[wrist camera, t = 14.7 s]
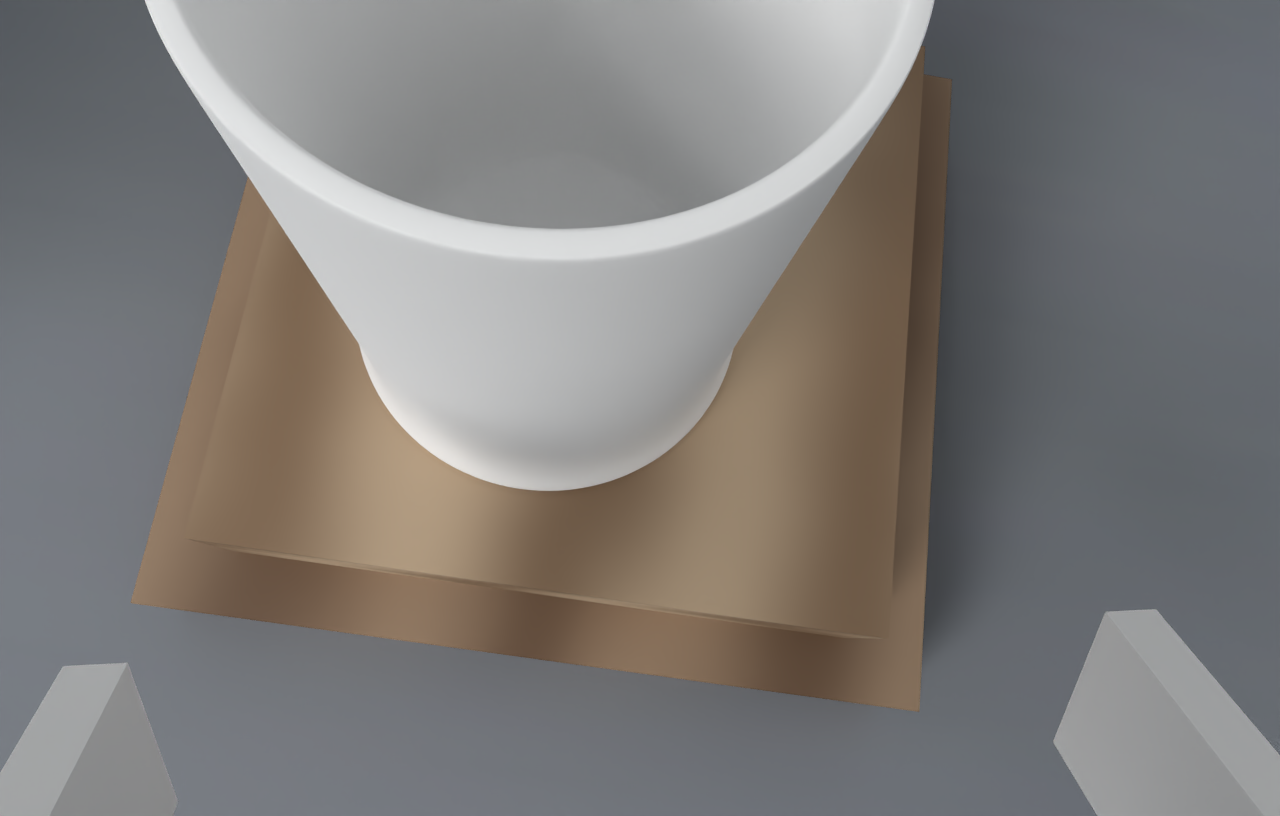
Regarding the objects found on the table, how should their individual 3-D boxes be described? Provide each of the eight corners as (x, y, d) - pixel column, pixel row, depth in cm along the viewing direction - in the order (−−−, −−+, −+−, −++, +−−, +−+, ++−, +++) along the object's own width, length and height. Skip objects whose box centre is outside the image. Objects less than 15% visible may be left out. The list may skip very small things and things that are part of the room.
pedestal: (181, 606, 24) (62, 598, 18) (331, 30, 28) (276, -125, 22) (876, 702, 25) (974, 723, 19) (912, 133, 29) (1000, 11, 24)
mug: (628, -6, 23) (711, -675, 11) (888, 209, 22) (1269, -267, 10) (275, 313, 20) (-113, -137, 8) (561, 574, 19) (582, 485, 7)
